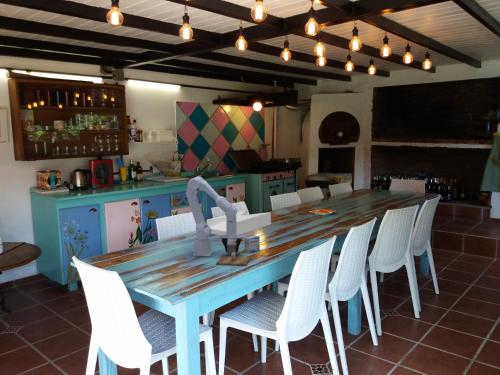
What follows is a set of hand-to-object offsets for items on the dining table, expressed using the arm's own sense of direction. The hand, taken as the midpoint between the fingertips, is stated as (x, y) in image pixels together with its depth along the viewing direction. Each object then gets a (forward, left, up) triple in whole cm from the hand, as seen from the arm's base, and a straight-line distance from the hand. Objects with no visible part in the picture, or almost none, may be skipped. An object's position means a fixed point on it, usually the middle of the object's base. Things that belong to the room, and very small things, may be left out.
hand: (231, 251), depth 226 cm
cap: (0, 0, -1) cm, 1 cm away
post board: (+3, -11, -2) cm, 12 cm away
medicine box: (+10, +9, -2) cm, 14 cm away
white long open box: (-7, +63, -3) cm, 63 cm away
